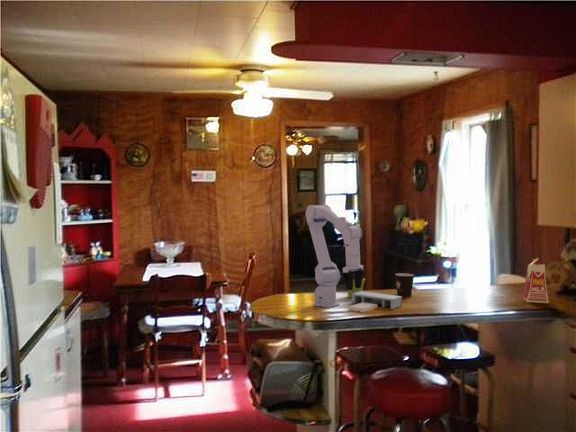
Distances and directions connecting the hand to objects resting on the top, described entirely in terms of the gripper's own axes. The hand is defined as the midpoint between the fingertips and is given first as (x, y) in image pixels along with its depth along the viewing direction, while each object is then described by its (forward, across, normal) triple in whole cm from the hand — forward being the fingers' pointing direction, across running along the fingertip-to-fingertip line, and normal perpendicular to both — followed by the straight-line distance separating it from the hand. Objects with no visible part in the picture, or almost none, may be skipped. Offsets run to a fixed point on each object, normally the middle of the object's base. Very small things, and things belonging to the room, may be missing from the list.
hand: (354, 289), depth 232 cm
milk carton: (+12, +72, -56) cm, 92 cm away
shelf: (+9, +21, 0) cm, 23 cm away
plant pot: (+8, +31, +15) cm, 35 cm away
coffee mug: (+8, +50, -1) cm, 51 cm away
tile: (+10, +10, +1) cm, 14 cm away
